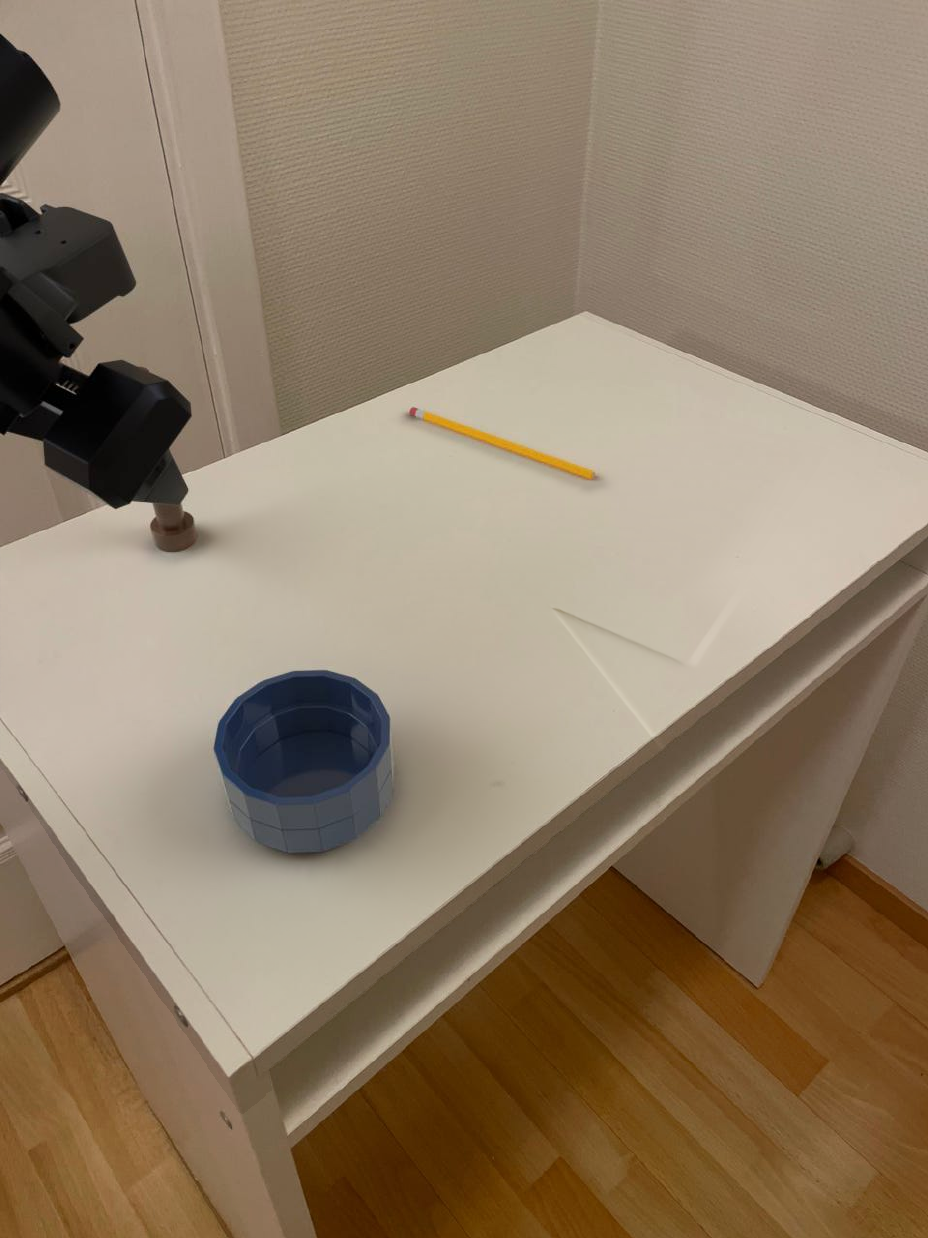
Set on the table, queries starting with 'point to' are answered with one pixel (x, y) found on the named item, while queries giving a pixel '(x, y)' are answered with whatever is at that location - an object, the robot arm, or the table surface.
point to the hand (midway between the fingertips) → (129, 468)
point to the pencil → (503, 443)
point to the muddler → (172, 526)
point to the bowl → (306, 760)
